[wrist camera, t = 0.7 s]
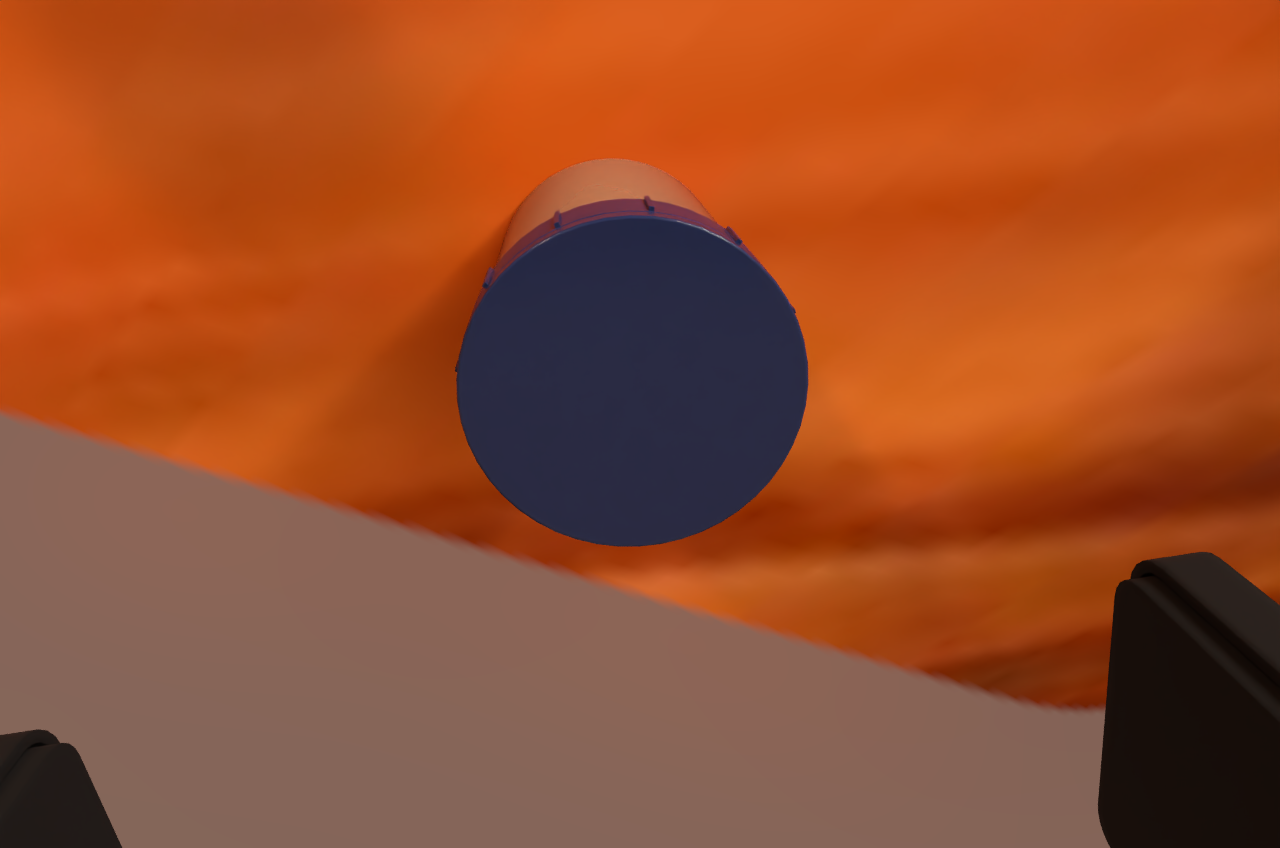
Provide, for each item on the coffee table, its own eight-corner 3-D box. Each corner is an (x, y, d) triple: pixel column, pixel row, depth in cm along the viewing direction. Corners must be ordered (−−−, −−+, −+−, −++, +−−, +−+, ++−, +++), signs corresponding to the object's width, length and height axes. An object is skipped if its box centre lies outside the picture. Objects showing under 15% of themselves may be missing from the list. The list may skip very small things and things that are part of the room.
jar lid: (770, 171, 19) (792, 185, 17) (800, 475, 22) (822, 516, 20) (431, 230, 19) (417, 250, 17) (504, 527, 22) (498, 573, 20)
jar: (707, 139, 27) (776, 192, 18) (734, 357, 29) (807, 498, 20) (477, 179, 27) (433, 251, 18) (525, 394, 29) (506, 550, 20)
